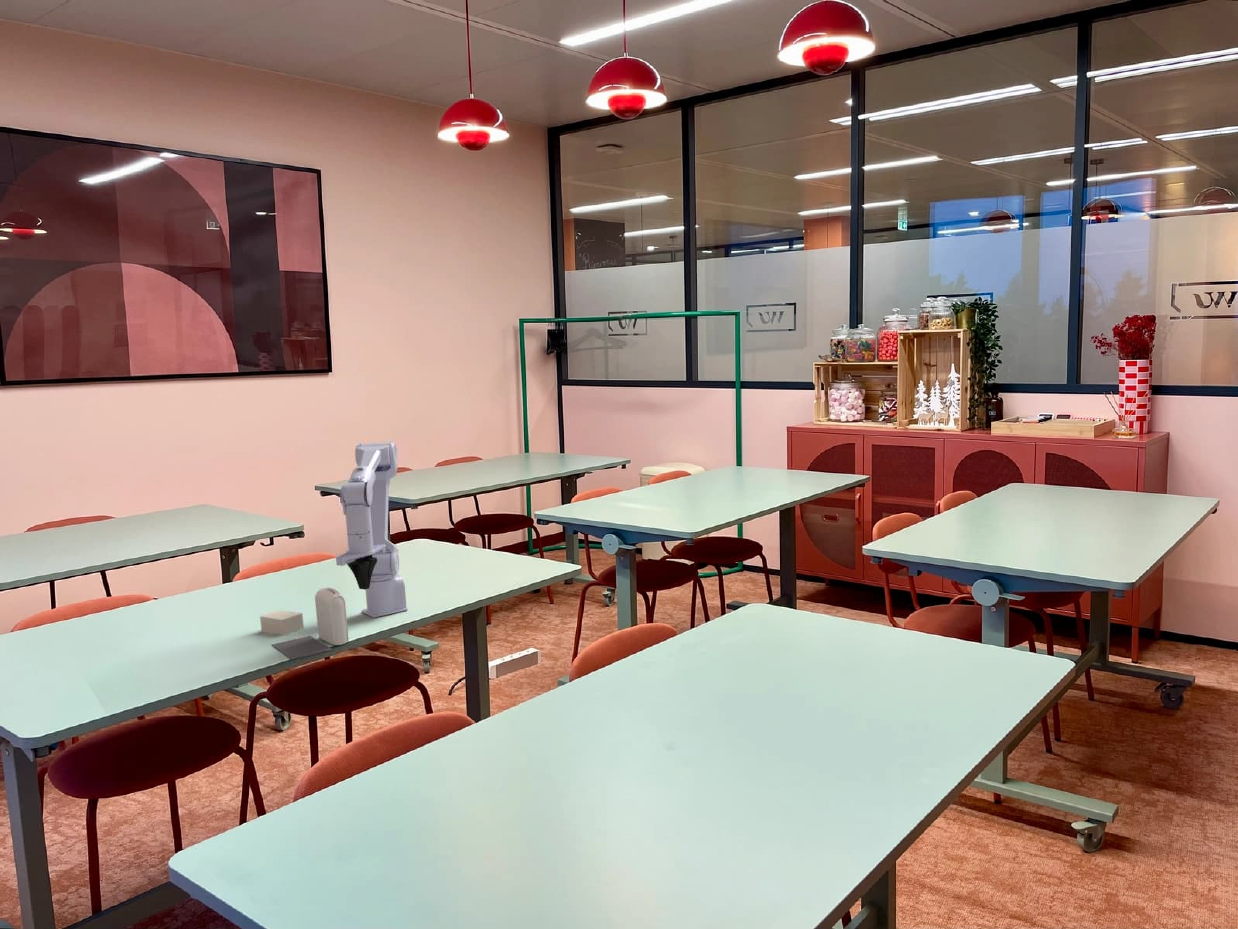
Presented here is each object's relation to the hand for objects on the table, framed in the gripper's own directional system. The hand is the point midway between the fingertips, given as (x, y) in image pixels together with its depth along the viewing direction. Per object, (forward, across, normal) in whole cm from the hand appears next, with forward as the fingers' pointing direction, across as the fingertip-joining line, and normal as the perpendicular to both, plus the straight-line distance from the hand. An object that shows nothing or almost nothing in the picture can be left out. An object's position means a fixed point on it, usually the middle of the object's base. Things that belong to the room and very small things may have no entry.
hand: (364, 588), depth 218 cm
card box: (+11, +6, -22) cm, 25 cm away
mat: (+10, +15, -6) cm, 19 cm away
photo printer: (+11, +8, -3) cm, 14 cm away
